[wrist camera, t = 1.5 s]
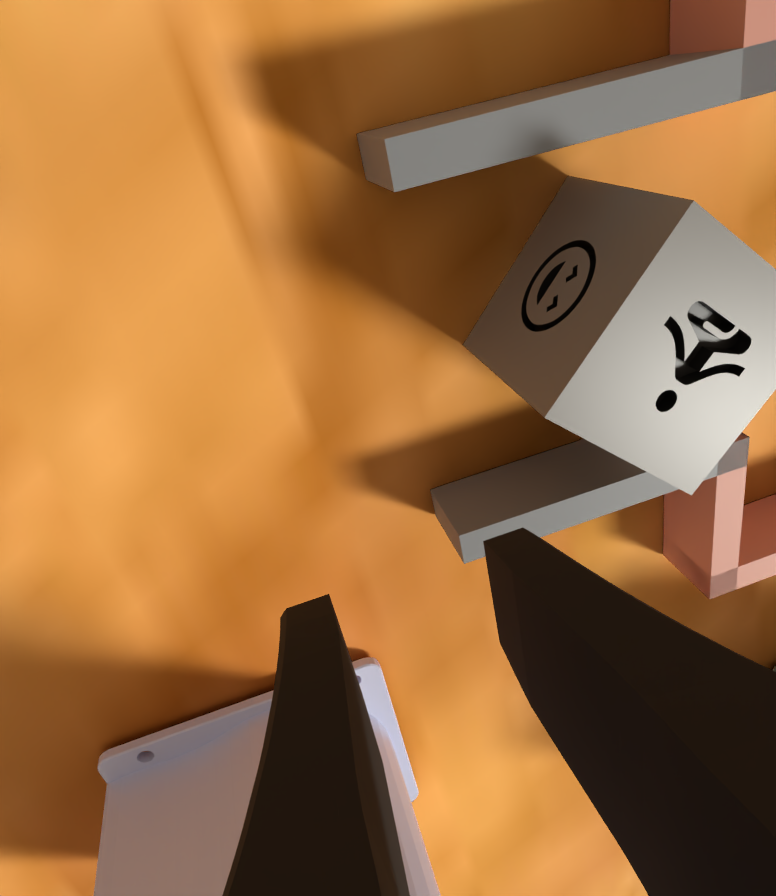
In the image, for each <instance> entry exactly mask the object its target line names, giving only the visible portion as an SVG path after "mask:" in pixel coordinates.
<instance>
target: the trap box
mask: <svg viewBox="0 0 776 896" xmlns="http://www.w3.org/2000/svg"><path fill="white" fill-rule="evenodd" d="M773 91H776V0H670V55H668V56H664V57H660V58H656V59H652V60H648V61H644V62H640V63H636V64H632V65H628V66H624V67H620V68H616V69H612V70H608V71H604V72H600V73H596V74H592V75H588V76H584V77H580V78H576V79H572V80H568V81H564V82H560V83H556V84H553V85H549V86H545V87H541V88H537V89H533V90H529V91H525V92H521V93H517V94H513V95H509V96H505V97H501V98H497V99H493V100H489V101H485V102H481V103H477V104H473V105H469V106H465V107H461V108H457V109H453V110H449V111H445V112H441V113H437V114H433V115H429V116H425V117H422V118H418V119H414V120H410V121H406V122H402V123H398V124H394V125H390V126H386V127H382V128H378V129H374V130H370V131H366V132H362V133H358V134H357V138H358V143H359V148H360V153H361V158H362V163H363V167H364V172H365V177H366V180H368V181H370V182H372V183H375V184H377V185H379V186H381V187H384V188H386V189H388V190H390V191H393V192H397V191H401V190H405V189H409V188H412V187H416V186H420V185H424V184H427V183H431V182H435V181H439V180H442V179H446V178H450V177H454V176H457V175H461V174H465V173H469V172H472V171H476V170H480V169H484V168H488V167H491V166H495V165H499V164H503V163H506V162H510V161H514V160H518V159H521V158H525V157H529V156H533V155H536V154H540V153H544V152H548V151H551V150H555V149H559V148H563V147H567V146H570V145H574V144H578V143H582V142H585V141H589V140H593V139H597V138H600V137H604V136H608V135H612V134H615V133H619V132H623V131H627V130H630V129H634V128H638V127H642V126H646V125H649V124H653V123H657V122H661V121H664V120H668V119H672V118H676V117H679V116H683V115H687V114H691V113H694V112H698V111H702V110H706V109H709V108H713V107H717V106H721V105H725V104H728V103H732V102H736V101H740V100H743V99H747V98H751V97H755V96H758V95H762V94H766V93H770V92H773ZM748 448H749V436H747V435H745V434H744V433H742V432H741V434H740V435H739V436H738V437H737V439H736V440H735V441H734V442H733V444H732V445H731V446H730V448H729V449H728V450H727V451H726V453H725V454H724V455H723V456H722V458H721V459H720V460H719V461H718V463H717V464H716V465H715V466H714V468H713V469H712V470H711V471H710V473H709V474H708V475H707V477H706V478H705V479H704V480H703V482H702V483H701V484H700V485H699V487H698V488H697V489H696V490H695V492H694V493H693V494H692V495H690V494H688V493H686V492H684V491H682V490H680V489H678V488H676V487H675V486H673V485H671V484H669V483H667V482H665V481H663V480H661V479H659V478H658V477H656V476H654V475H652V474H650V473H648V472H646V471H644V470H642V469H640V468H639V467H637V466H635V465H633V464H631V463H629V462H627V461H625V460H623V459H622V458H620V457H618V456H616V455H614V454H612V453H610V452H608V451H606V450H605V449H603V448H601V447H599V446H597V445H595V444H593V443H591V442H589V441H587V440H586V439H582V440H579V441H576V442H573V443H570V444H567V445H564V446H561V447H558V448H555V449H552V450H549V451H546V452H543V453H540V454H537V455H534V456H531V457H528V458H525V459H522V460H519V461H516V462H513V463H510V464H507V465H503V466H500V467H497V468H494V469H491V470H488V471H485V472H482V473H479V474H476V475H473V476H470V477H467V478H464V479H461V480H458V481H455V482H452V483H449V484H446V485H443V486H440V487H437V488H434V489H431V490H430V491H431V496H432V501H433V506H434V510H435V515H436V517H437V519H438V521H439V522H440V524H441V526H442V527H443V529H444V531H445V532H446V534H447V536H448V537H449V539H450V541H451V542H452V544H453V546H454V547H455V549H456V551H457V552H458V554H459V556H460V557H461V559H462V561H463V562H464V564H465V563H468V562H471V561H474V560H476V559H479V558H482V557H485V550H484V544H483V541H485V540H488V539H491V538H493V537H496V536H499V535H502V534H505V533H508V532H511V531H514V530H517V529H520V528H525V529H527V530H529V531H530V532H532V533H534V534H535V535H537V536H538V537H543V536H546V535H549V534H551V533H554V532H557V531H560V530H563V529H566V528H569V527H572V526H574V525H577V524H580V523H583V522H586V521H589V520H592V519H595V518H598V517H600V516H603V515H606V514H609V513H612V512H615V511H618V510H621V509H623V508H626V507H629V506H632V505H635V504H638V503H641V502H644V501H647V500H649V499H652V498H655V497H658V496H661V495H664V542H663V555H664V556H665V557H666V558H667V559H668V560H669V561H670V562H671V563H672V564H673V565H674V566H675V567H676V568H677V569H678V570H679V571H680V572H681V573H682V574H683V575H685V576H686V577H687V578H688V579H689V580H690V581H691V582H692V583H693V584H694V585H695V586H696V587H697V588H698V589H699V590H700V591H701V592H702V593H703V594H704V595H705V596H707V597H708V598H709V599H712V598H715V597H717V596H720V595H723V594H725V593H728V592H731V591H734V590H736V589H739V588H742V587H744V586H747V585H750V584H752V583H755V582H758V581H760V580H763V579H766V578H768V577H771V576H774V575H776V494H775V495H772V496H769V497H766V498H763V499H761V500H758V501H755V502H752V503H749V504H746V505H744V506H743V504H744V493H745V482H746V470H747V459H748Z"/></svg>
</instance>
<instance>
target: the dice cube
mask: <svg viewBox="0 0 776 896" xmlns="http://www.w3.org/2000/svg"><path fill="white" fill-rule="evenodd" d="M463 346H465V347H466V348H467V349H468V350H469V351H470V352H471V353H472V354H474V355H475V356H476V357H477V358H478V359H479V360H480V361H481V362H482V363H484V364H485V365H486V366H487V367H488V368H489V369H490V370H491V371H493V372H494V373H495V374H496V375H497V376H498V377H499V378H500V379H502V380H503V381H504V382H505V383H506V384H507V385H508V386H509V387H511V388H512V389H513V390H514V391H515V392H516V393H517V394H518V395H519V396H521V397H522V398H523V399H524V400H525V401H526V402H527V403H528V404H530V405H531V406H532V407H533V408H534V409H535V410H536V411H537V412H539V413H540V414H541V415H542V416H543V417H544V418H546V419H548V420H550V421H551V422H553V423H555V424H557V425H559V426H561V427H563V428H565V429H567V430H569V431H570V432H572V433H574V434H576V435H578V436H580V437H582V438H584V439H586V440H587V441H589V442H591V443H593V444H595V445H597V446H599V447H601V448H603V449H605V450H606V451H608V452H610V453H612V454H614V455H616V456H618V457H620V458H622V459H623V460H625V461H627V462H629V463H631V464H633V465H635V466H637V467H639V468H640V469H642V470H644V471H646V472H648V473H650V474H652V475H654V476H656V477H658V478H659V479H661V480H663V481H665V482H667V483H669V484H671V485H673V486H675V487H676V488H678V489H680V490H682V491H684V492H686V493H688V494H690V495H692V494H693V493H694V492H695V490H696V489H697V488H698V487H699V485H700V484H701V483H702V482H703V480H704V479H705V478H706V477H707V475H708V474H709V473H710V471H711V470H712V469H713V468H714V466H715V465H716V464H717V463H718V461H719V460H720V459H721V458H722V456H723V455H724V454H725V453H726V451H727V450H728V449H729V448H730V446H731V445H732V444H733V442H734V441H735V440H736V439H737V437H738V436H739V435H740V434H741V432H742V431H743V430H744V429H745V427H746V426H747V425H748V424H749V422H750V421H751V420H752V419H753V417H754V416H755V415H756V413H757V412H758V411H759V410H760V408H761V407H762V406H763V405H764V403H765V402H766V401H767V400H768V398H769V397H770V396H771V395H772V393H773V392H774V391H775V389H776V269H774V268H773V267H772V266H771V265H770V264H769V263H767V262H766V261H765V260H764V259H763V258H761V257H760V256H759V255H758V254H757V253H755V252H754V251H753V250H752V249H751V248H750V247H748V246H747V245H746V244H745V243H744V242H742V241H741V240H740V239H739V238H738V237H736V236H735V235H734V234H733V233H732V232H731V231H729V230H728V229H727V228H726V227H725V226H723V225H722V224H721V223H720V222H719V221H718V220H716V219H715V218H714V217H713V216H712V215H710V214H709V213H708V212H707V211H706V210H704V209H703V208H702V207H701V206H700V205H699V204H697V203H696V202H695V201H694V200H689V199H684V198H678V197H673V196H668V195H663V194H658V193H653V192H648V191H643V190H638V189H633V188H628V187H623V186H617V185H612V184H607V183H602V182H597V181H592V180H587V179H582V178H577V177H572V176H568V177H567V178H566V180H565V181H564V183H563V185H562V186H561V188H560V189H559V191H558V193H557V194H556V196H555V197H554V199H553V201H552V202H551V204H550V206H549V207H548V209H547V210H546V212H545V214H544V215H543V217H542V218H541V220H540V222H539V223H538V225H537V226H536V228H535V230H534V231H533V233H532V234H531V236H530V238H529V239H528V241H527V242H526V244H525V246H524V247H523V249H522V251H521V252H520V254H519V255H518V257H517V259H516V260H515V262H514V263H513V265H512V267H511V268H510V270H509V271H508V273H507V275H506V276H505V278H504V279H503V281H502V283H501V284H500V286H499V287H498V289H497V291H496V292H495V294H494V296H493V297H492V299H491V300H490V302H489V304H488V305H487V307H486V308H485V310H484V312H483V313H482V315H481V316H480V318H479V320H478V321H477V323H476V324H475V326H474V328H473V329H472V331H471V332H470V334H469V336H468V337H467V339H466V341H465V342H464V344H463Z"/></svg>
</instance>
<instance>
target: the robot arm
mask: <svg viewBox="0 0 776 896" xmlns="http://www.w3.org/2000/svg"><path fill="white" fill-rule="evenodd" d="M483 544H484V550H485V556H486V562H487V568H488V574H489V580H490V586H491V592H492V598H493V604H494V610H495V616H496V622H497V628H498V634H499V640H500V644H501V646H502V648H503V650H504V652H505V654H506V656H507V658H508V660H509V662H510V665H511V667H512V669H513V671H514V673H515V675H516V677H517V679H518V681H519V683H520V685H521V687H522V689H523V691H524V693H525V695H526V697H527V699H528V701H529V703H530V705H531V707H532V708H533V710H534V712H535V713H536V715H537V716H538V718H539V720H540V721H541V723H542V724H543V726H544V728H545V729H546V731H547V732H548V734H549V736H550V737H551V739H552V740H553V742H554V743H555V745H556V747H557V748H558V750H559V751H560V753H561V755H562V756H563V758H564V759H565V761H566V762H567V764H568V766H569V767H570V769H571V770H572V772H573V773H574V775H575V777H576V778H577V780H578V781H579V783H580V784H581V786H582V788H583V789H584V791H585V792H586V794H587V795H588V797H589V799H590V800H591V802H592V803H593V805H594V806H595V808H596V810H597V811H598V813H599V814H600V816H601V817H602V819H603V821H604V822H605V824H606V825H607V827H608V828H609V830H610V832H611V833H612V835H613V836H614V838H615V839H616V841H617V843H618V844H619V846H620V847H621V849H622V850H623V852H624V854H625V855H626V857H627V859H628V860H629V862H630V864H631V866H632V867H633V869H634V871H635V872H636V874H637V876H638V878H639V879H640V881H641V883H642V884H643V886H644V888H645V890H646V891H647V893H648V895H649V896H776V672H775V671H772V670H770V669H768V668H766V667H764V666H762V665H760V664H758V663H756V662H754V661H752V660H750V659H748V658H746V657H744V656H742V655H740V654H737V653H735V652H733V651H731V650H730V649H728V648H726V647H724V646H722V645H720V644H718V643H716V642H714V641H712V640H710V639H708V638H707V637H705V636H703V635H701V634H699V633H697V632H695V631H693V630H691V629H689V628H688V627H686V626H684V625H682V624H680V623H679V622H677V621H675V620H673V619H671V618H670V617H668V616H666V615H664V614H662V613H661V612H659V611H657V610H656V609H654V608H652V607H650V606H649V605H647V604H645V603H644V602H642V601H640V600H638V599H637V598H635V597H633V596H632V595H630V594H628V593H626V592H625V591H623V590H621V589H620V588H618V587H616V586H615V585H613V584H612V583H610V582H608V581H607V580H605V579H603V578H602V577H600V576H599V575H597V574H595V573H594V572H592V571H591V570H589V569H587V568H586V567H584V566H583V565H581V564H580V563H578V562H576V561H575V560H573V559H572V558H570V557H569V556H567V555H566V554H564V553H563V552H561V551H560V550H558V549H556V548H555V547H553V546H552V545H550V544H549V543H547V542H546V541H544V540H543V539H541V538H540V537H538V536H537V535H535V534H534V533H532V532H530V531H529V530H527V529H525V528H520V529H517V530H514V531H511V532H508V533H505V534H502V535H499V536H496V537H493V538H491V539H488V540H485V541H483ZM356 675H357V676H356ZM143 751H149V752H143ZM98 771H99V773H100V775H101V776H102V778H103V779H104V780H105V782H106V783H107V788H106V796H105V805H104V813H103V821H102V830H101V838H100V846H99V855H98V863H97V871H96V880H95V888H94V896H441V895H440V892H439V889H438V885H437V882H436V879H435V876H434V873H433V870H432V866H431V863H430V860H429V857H428V854H427V851H426V848H425V844H424V841H423V838H422V835H421V832H420V829H419V826H418V822H417V819H416V816H415V813H414V810H413V807H412V803H411V802H412V801H414V800H415V799H416V797H417V796H418V788H417V785H416V781H415V778H414V775H413V771H412V768H411V765H410V762H409V758H408V755H407V752H406V748H405V745H404V742H403V739H402V735H401V732H400V729H399V725H398V722H397V719H396V715H395V712H394V709H393V706H392V702H391V699H390V696H389V692H388V689H387V686H386V683H385V679H384V676H383V673H382V669H381V667H380V664H379V662H378V660H376V659H375V658H371V657H366V658H362V659H359V660H356V661H353V662H352V661H351V658H350V655H349V652H348V649H347V646H346V643H345V640H344V637H343V634H342V631H341V628H340V625H339V622H338V619H337V616H336V613H335V610H334V608H333V605H332V602H331V599H330V596H329V594H328V595H325V596H322V597H319V598H316V599H313V600H310V601H307V602H304V603H301V604H298V605H295V606H293V607H290V608H287V609H286V610H285V611H284V613H283V614H282V616H281V618H280V643H279V654H278V663H277V671H276V677H275V684H274V690H272V691H270V692H267V693H264V694H261V695H259V696H256V697H253V698H250V699H247V700H245V701H242V702H239V703H236V704H233V705H231V706H228V707H225V708H222V709H219V710H217V711H214V712H211V713H208V714H206V715H203V716H200V717H197V718H194V719H192V720H189V721H186V722H183V723H180V724H178V725H175V726H172V727H169V728H167V729H164V730H161V731H158V732H155V733H153V734H150V735H147V736H144V737H141V738H139V739H136V740H133V741H130V742H128V743H125V744H122V745H119V746H116V747H114V748H111V749H108V750H107V751H105V752H103V753H102V754H101V755H100V757H99V761H98Z"/></svg>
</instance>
